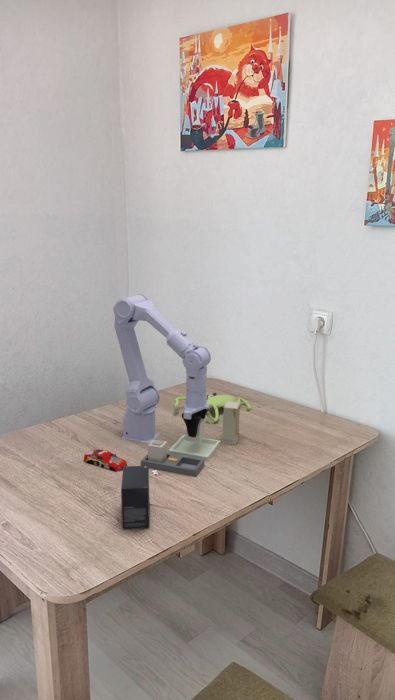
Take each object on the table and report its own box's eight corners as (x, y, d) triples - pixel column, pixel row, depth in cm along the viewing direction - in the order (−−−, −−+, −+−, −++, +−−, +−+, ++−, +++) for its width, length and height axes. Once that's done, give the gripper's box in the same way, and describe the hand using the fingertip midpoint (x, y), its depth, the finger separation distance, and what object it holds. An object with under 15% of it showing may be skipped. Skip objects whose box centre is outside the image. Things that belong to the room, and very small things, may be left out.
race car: (131, 468, 155) (131, 455, 153) (118, 476, 150) (118, 463, 149) (94, 456, 161) (93, 444, 160) (81, 464, 156) (80, 450, 155)
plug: (186, 440, 163) (186, 420, 161) (191, 435, 167) (191, 415, 165) (199, 443, 162) (200, 422, 160) (203, 437, 166) (204, 417, 164)
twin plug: (148, 465, 155) (148, 443, 153) (154, 459, 158) (154, 438, 157) (161, 467, 153) (161, 446, 152) (167, 461, 157) (167, 440, 155)
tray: (168, 456, 162) (168, 450, 161) (183, 439, 173) (183, 434, 172) (207, 463, 158) (207, 457, 157) (220, 446, 169) (220, 440, 168)
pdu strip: (140, 468, 154) (140, 459, 153) (151, 458, 160) (151, 449, 160) (195, 479, 149) (196, 469, 148) (204, 467, 155) (204, 458, 154)
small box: (122, 504, 136) (122, 465, 133) (149, 504, 136) (149, 464, 134) (120, 529, 126) (120, 487, 123) (150, 528, 126) (149, 486, 123)
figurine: (166, 413, 194) (166, 398, 193) (218, 396, 213) (218, 382, 211) (204, 429, 182) (205, 413, 180) (256, 409, 200) (257, 394, 199)
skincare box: (236, 447, 168) (237, 409, 165) (221, 445, 169) (223, 407, 166) (238, 438, 175) (240, 401, 171) (225, 437, 175) (226, 400, 172)
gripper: (201, 399, 152) (199, 445, 156) (217, 383, 166) (215, 426, 169) (176, 396, 155) (176, 441, 158) (194, 380, 168) (193, 423, 171)
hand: (194, 433), depth 164 cm, fingers closed on plug, 4 cm apart
